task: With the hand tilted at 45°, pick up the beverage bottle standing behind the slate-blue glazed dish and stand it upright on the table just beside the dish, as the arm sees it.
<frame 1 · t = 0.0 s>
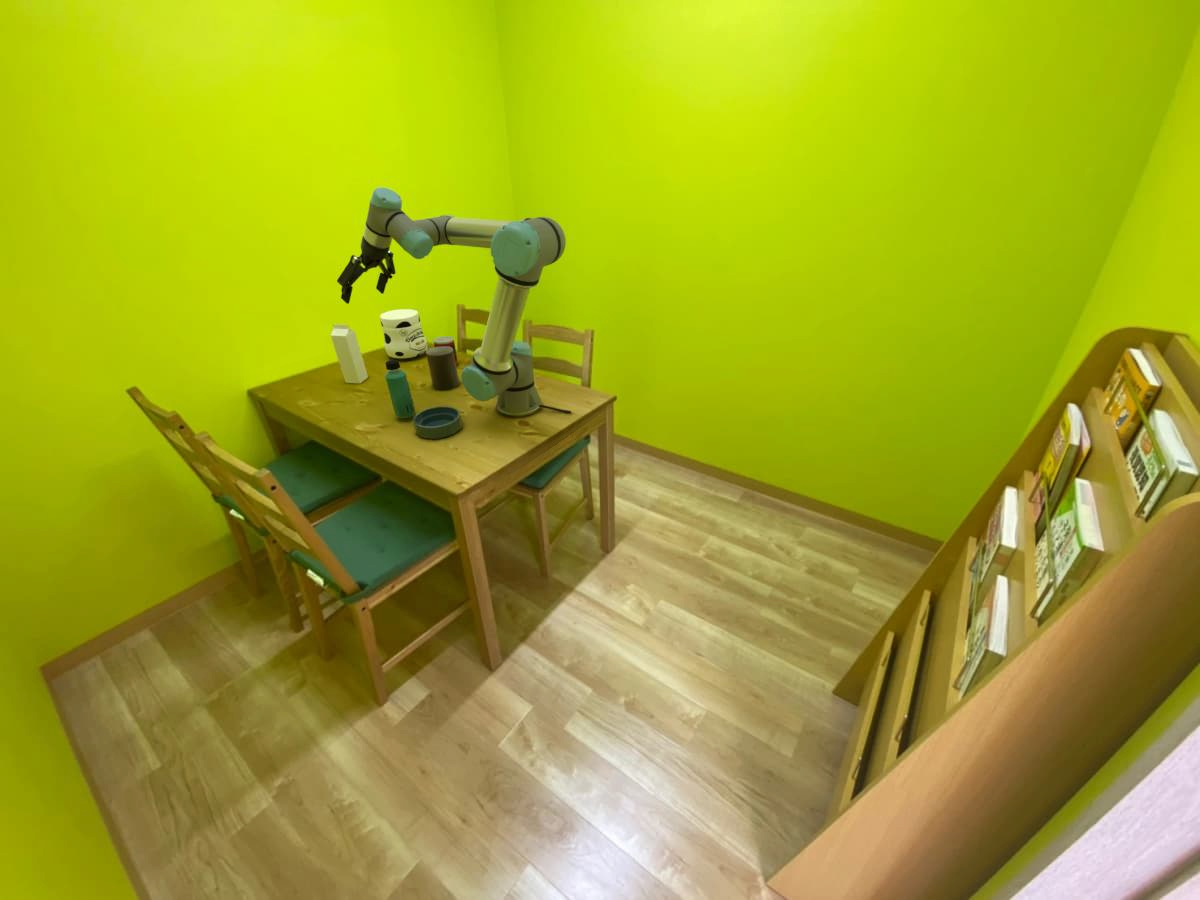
hand: (362, 295, 154), 36 cm above the table, tool tilted 35°, fingers open, 13 cm apart
dish: (439, 428, 153), on the table
milk container: (408, 355, 208), on the table
beverage bottle: (406, 418, 159), on the table
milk: (357, 380, 186), on the table
canned food: (448, 365, 198), on the table
pillar candle: (446, 385, 181), on the table
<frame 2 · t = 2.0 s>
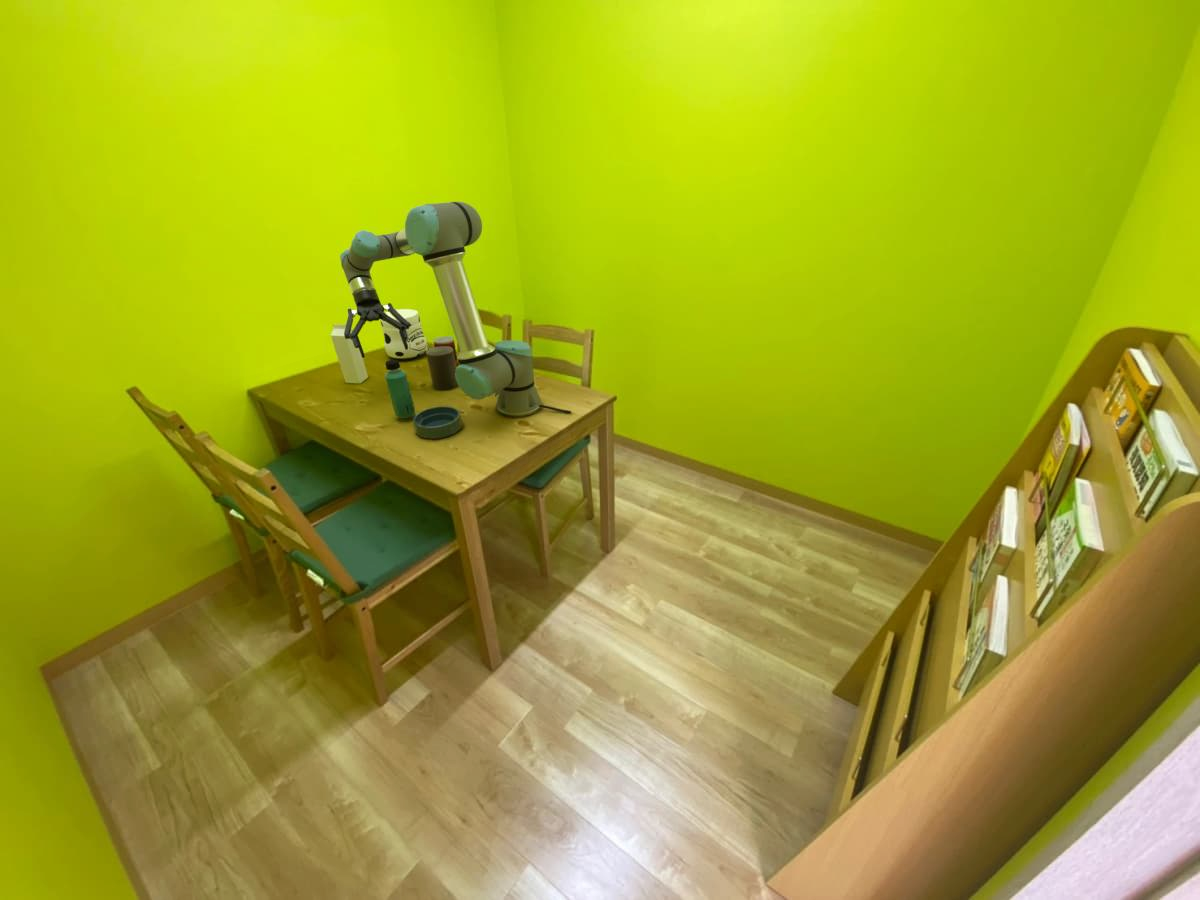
hand: (385, 351, 156), 20 cm above the table, tool tilted 45°, fingers open, 13 cm apart
nothing on the table moved.
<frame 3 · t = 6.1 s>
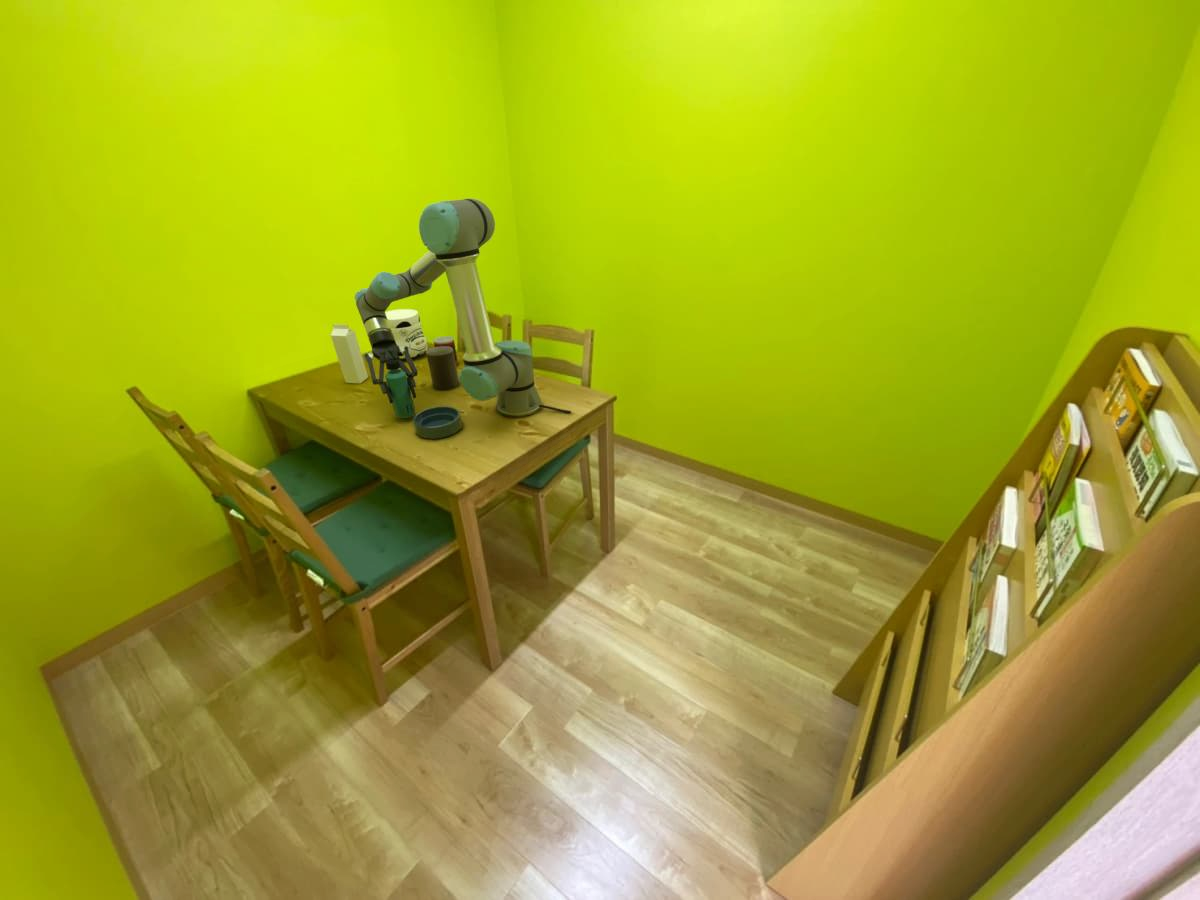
hand: (403, 398, 152), 8 cm above the table, tool tilted 45°, fingers closed on beverage bottle, 6 cm apart
beverage bottle: (406, 418, 159), on the table, touching gripper
everything else where it was.
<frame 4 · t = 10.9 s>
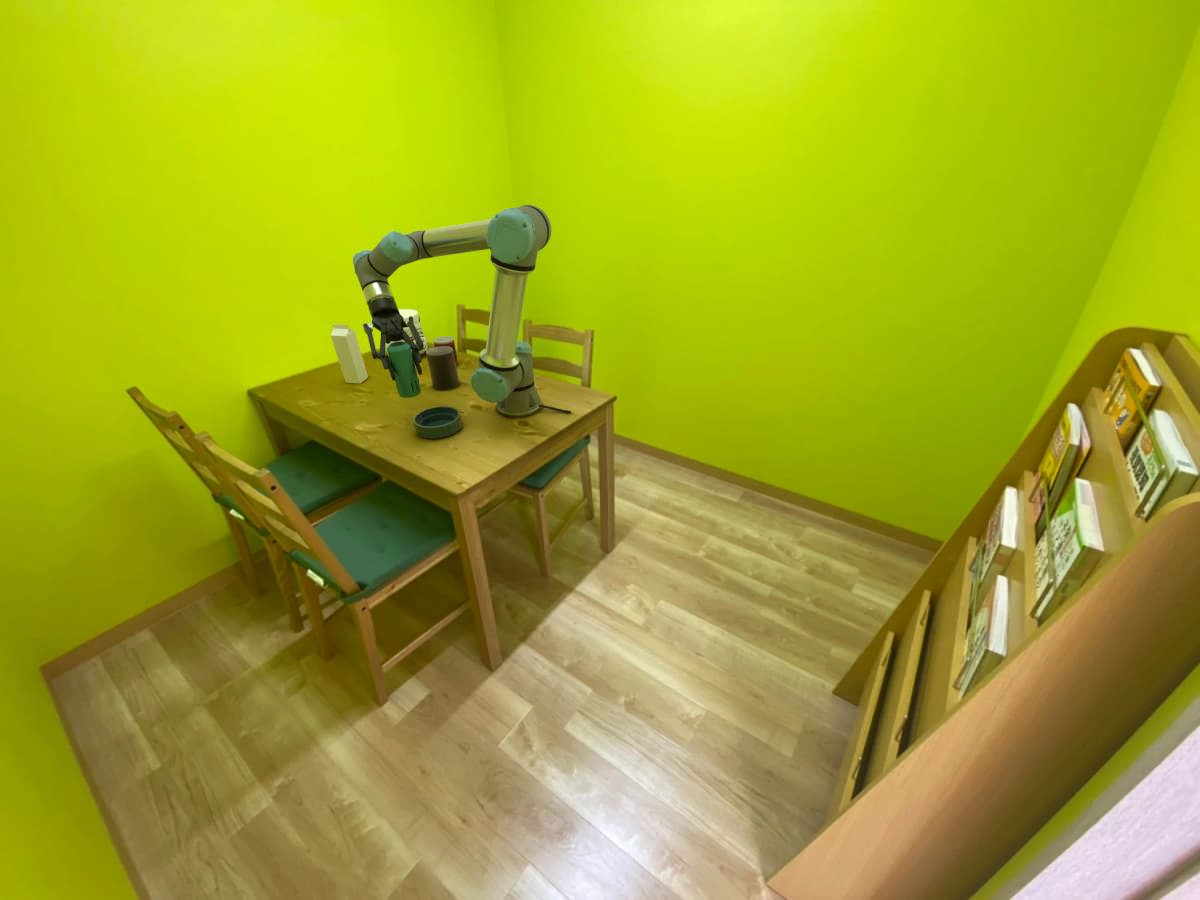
hand: (407, 375, 133), 22 cm above the table, tool tilted 45°, fingers closed on beverage bottle, 6 cm apart
beverage bottle: (411, 398, 140), point 14 cm above the table, touching gripper
everything else where it was.
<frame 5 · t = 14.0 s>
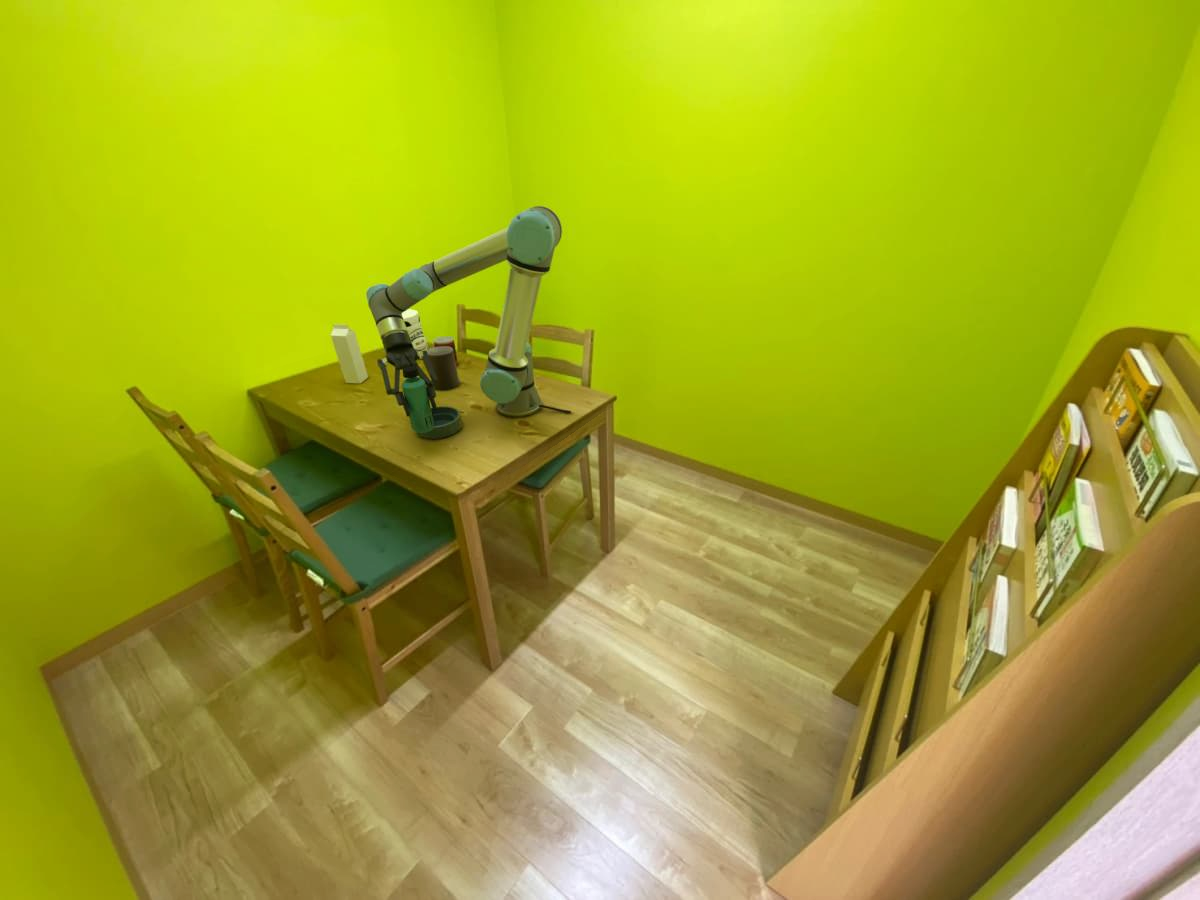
hand: (421, 411, 132), 14 cm above the table, tool tilted 45°, fingers closed on beverage bottle, 6 cm apart
beverage bottle: (424, 432, 139), point 6 cm above the table, touching gripper
everything else where it was.
when the fingers open (8 cm above the table, at t = 16.0 s): beverage bottle stays where it is, on the table.
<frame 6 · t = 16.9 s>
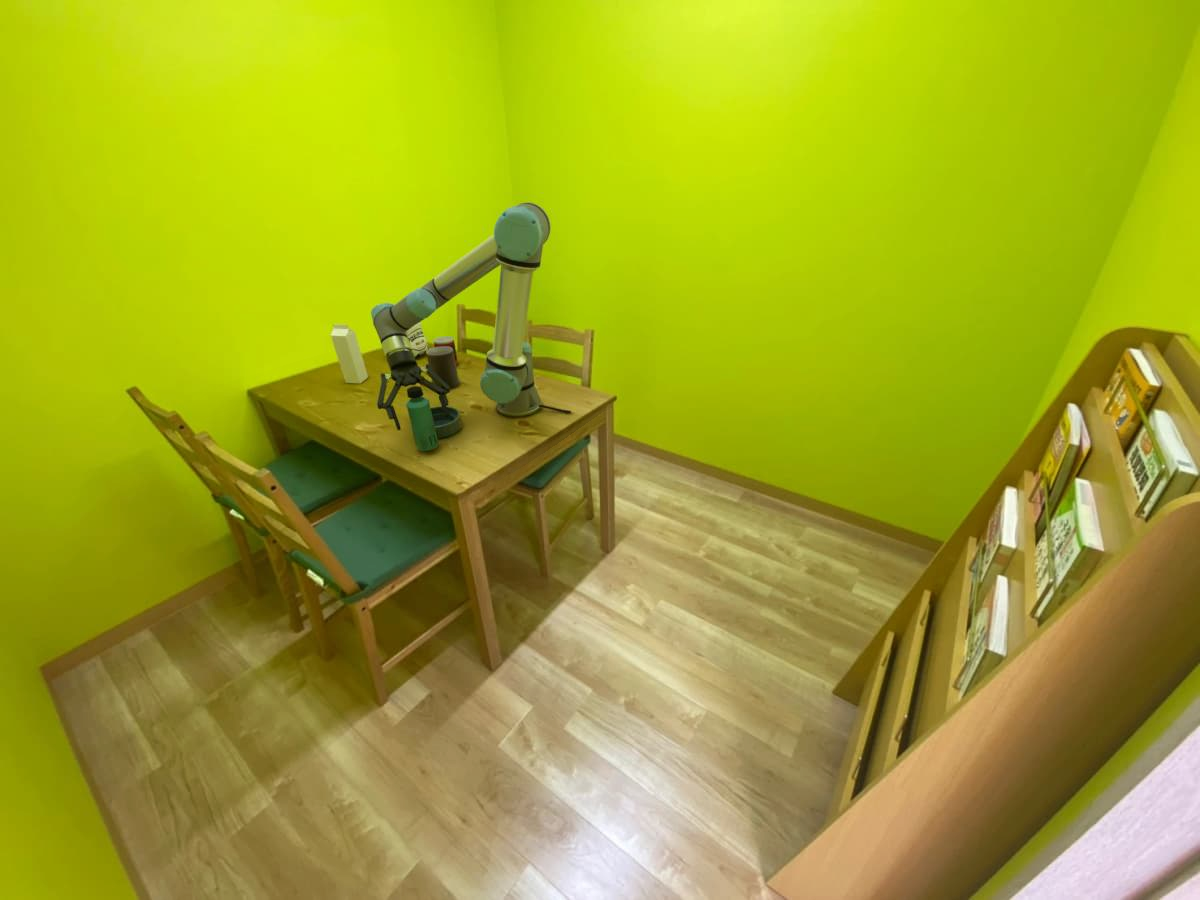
hand: (424, 422, 135), 10 cm above the table, tool tilted 45°, fingers open, 13 cm apart
beverage bottle: (428, 450, 142), on the table
everything else where it was.
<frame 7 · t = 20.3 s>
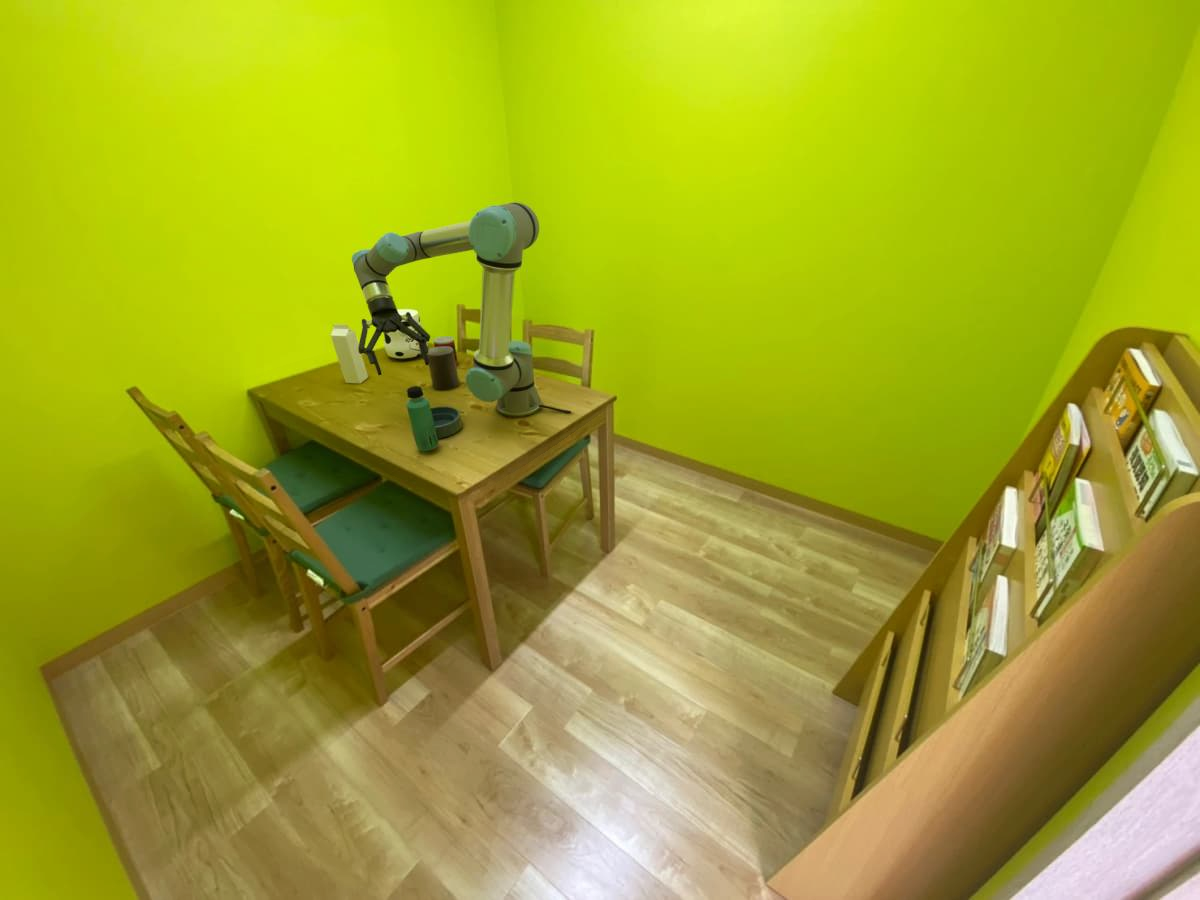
hand: (404, 368, 140), 21 cm above the table, tool tilted 40°, fingers open, 13 cm apart
nothing on the table moved.
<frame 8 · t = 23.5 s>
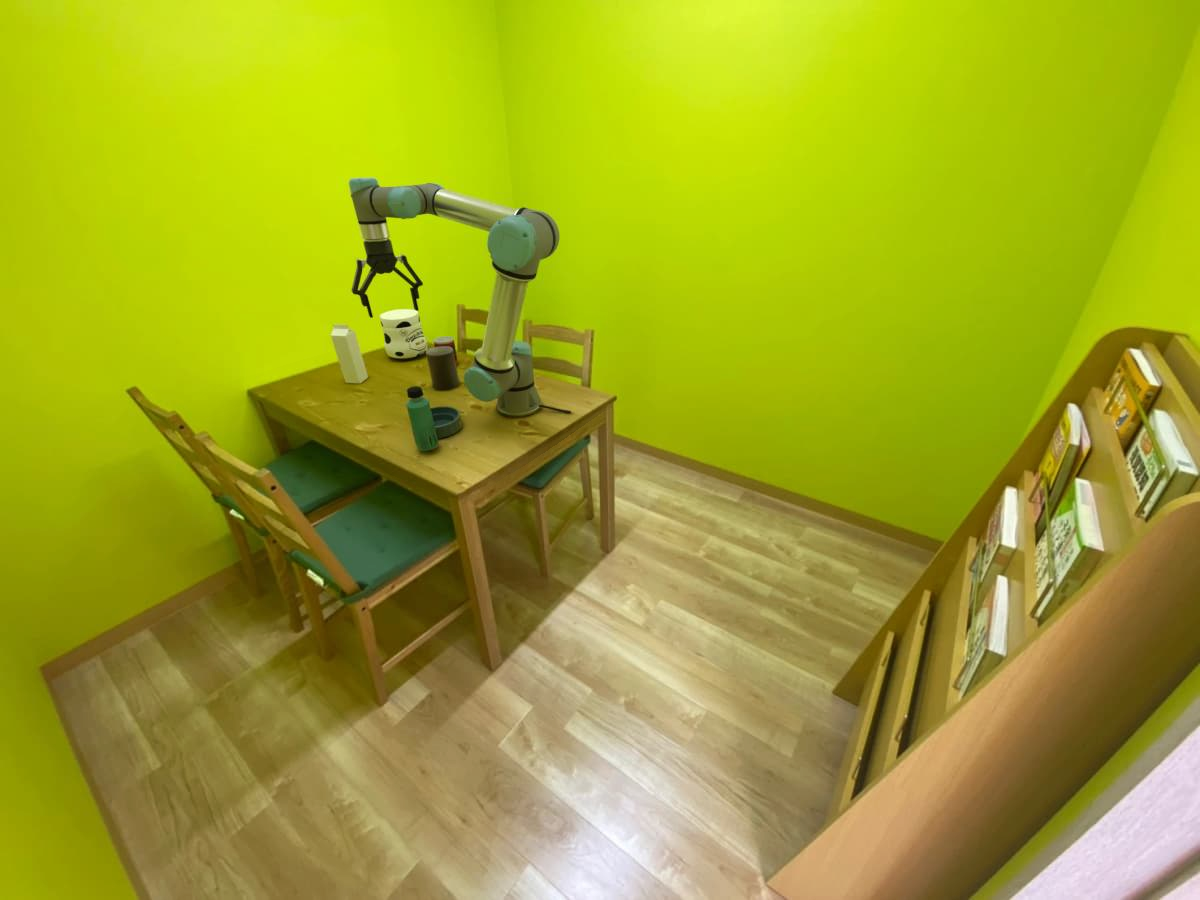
hand: (394, 313, 149), 33 cm above the table, tool pointing down, fingers open, 13 cm apart
nothing on the table moved.
at the end: beverage bottle inside the target area on the table beside the dish (1.2 cm from its centre), on the table; beverage bottle tilted 0°; the gripper is holding nothing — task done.
